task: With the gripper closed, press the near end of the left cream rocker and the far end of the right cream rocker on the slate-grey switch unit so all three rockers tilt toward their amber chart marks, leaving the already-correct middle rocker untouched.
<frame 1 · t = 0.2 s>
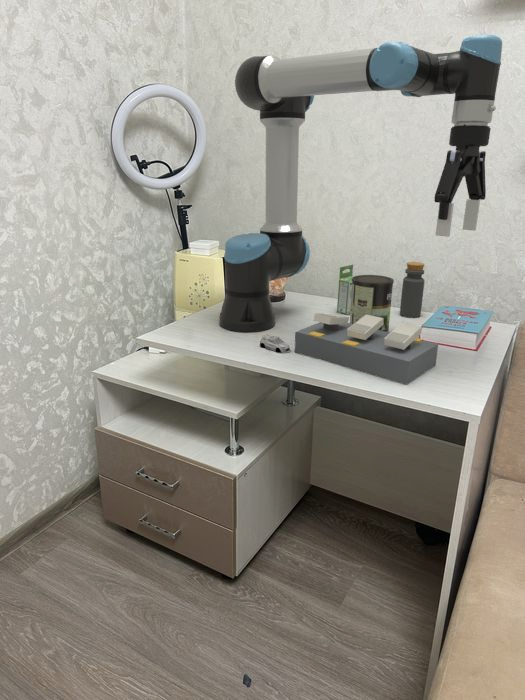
hand: (456, 233, 113), 28 cm above the table, fingers open, 13 cm apart
rocker left: (331, 318, 122), point 8 cm above the table, hinge at -12.0°
ink box: (348, 312, 155), on the table
toy car: (275, 350, 125), on the table
switch unit: (363, 358, 119), on the table
rocker right: (403, 335, 111), point 8 cm above the table, hinge at 12.0°
bottle: (409, 315, 152), on the table
rocker mid: (365, 326, 116), point 8 cm above the table, hinge at 12.0°
coffee can: (368, 332, 137), on the table
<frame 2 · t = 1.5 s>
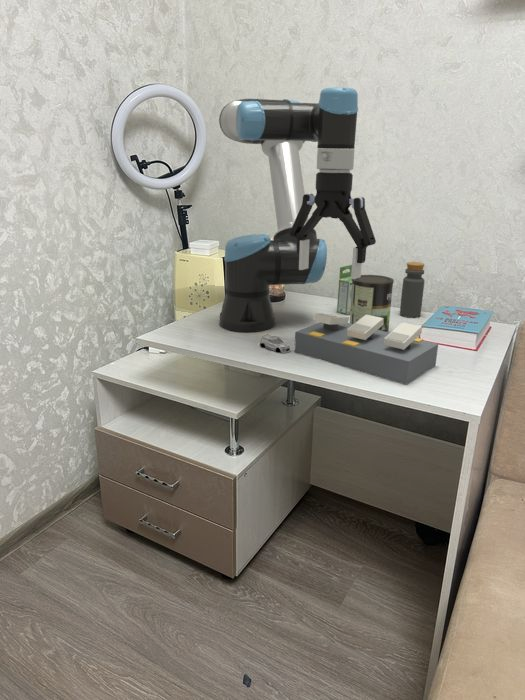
hand: (328, 273, 116), 19 cm above the table, fingers open, 13 cm apart
nothing on the table moved.
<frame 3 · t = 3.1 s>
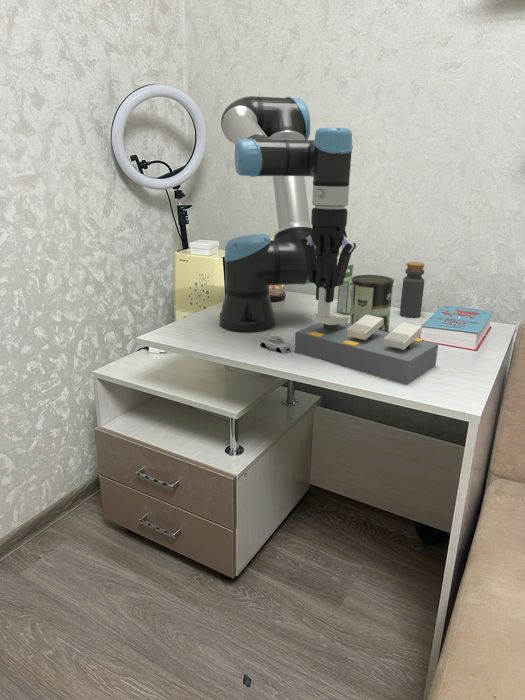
hand: (323, 315, 119), 9 cm above the table, fingers closed
rocker left: (331, 318, 122), point 8 cm above the table, hinge at -10.5°, touching gripper
everything else where it was.
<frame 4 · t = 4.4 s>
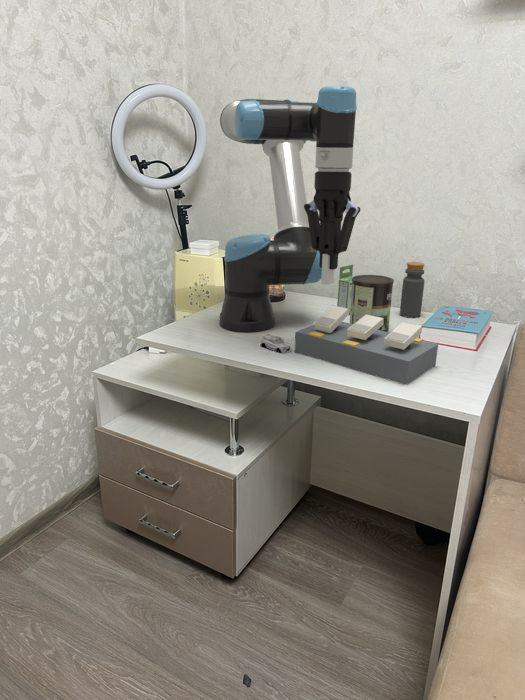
hand: (327, 283, 116), 16 cm above the table, fingers closed
rocker left: (331, 318, 122), point 8 cm above the table, hinge at 20.5°, touching switch unit
everything else where it was.
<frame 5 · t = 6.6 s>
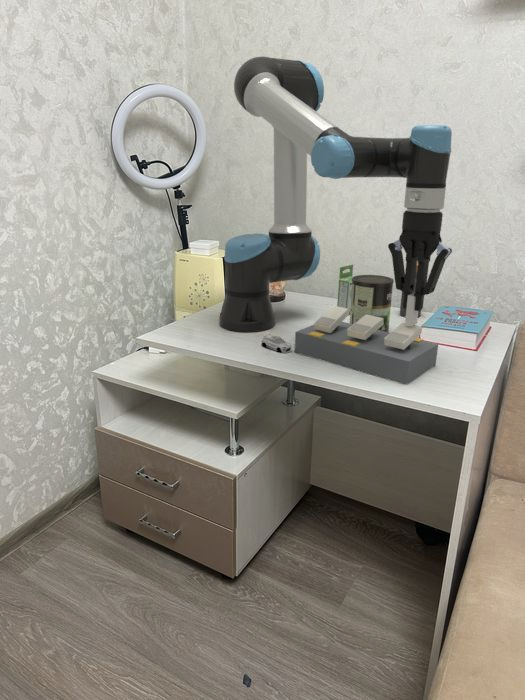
hand: (410, 324, 112), 9 cm above the table, fingers closed
rocker right: (403, 335, 111), point 8 cm above the table, hinge at 12.0°, touching gripper
everything else where it was.
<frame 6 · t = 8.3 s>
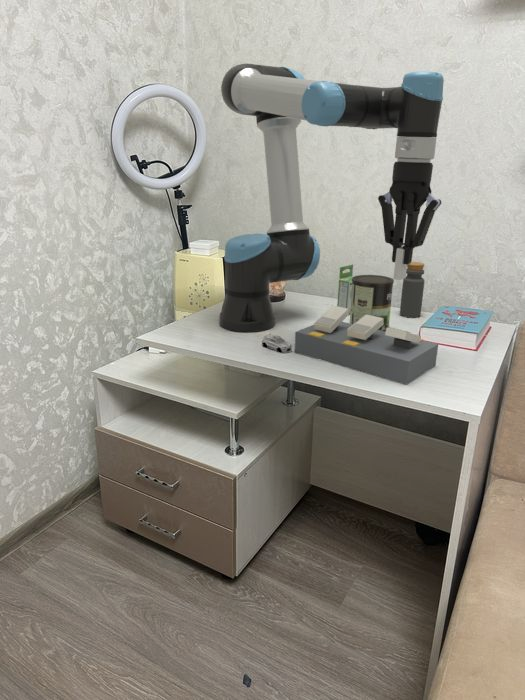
hand: (399, 278, 112), 18 cm above the table, fingers closed
rocker right: (403, 335, 111), point 8 cm above the table, hinge at -20.5°, touching switch unit
everything else where it was.
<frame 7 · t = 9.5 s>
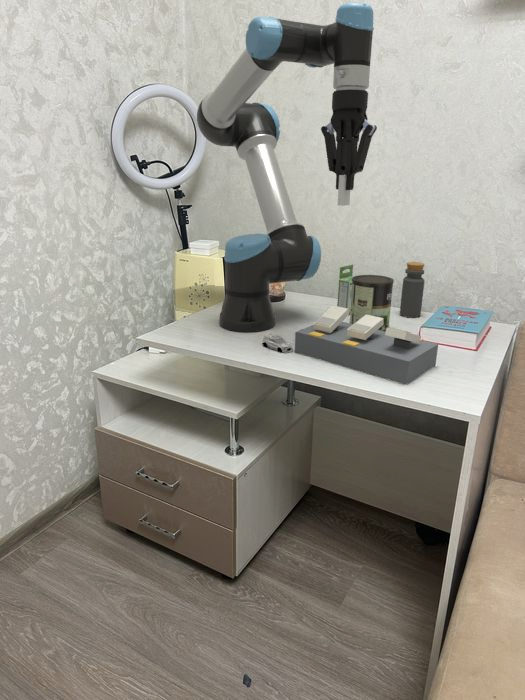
hand: (343, 205, 120), 32 cm above the table, fingers closed
nothing on the table moved.
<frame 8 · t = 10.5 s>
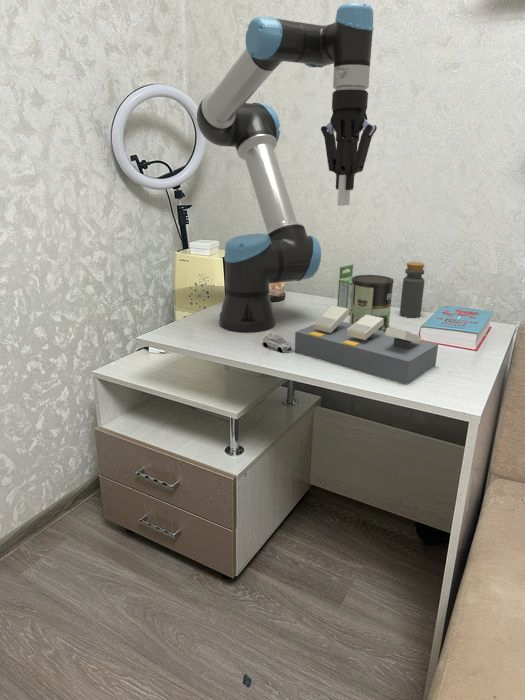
hand: (343, 204, 120), 32 cm above the table, fingers closed
nothing on the table moved.
at the end: rocker left at +20° (first picture: -12°); rocker mid at +12° (first picture: +12°); rocker right at -20° (first picture: +12°) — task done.
